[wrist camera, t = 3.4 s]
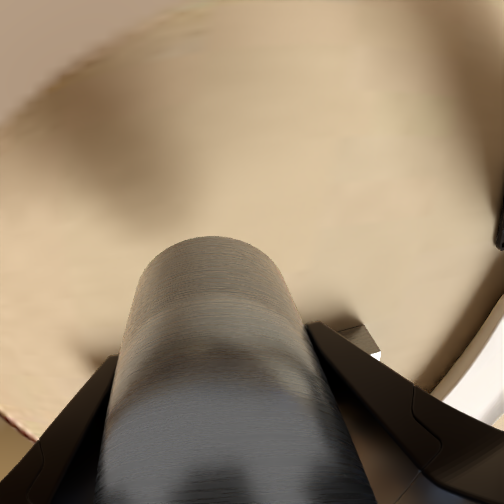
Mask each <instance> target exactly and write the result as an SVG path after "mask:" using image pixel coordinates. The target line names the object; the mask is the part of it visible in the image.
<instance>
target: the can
mask: <svg viewBox="0 0 504 504" xmlns="http://www.w3.org/2000/svg"><path fill="white" fill-rule="evenodd" d="M93 504H378V503H377V500H376V498H375V495H374V493H373V490H372V488H371V485H370V483H369V480H368V478H367V475H366V473H365V470H364V468H363V465H362V463H361V460H360V458H359V455H358V453H357V450H356V448H355V446H354V443H353V441H352V438H351V436H350V433H349V431H348V428H347V426H346V424H345V421H344V419H343V416H342V414H341V412H340V409H339V407H338V404H337V402H336V400H335V397H334V395H333V392H332V390H331V388H330V385H329V383H328V381H327V378H326V376H325V373H324V371H323V369H322V366H321V364H320V362H319V359H318V357H317V355H316V352H315V350H314V348H313V345H312V343H311V341H310V338H309V336H308V334H307V331H306V329H305V327H304V324H303V322H302V320H301V317H300V315H299V313H298V310H297V308H296V306H295V304H294V301H293V299H292V297H291V294H290V292H289V290H288V287H287V285H286V283H285V281H284V278H283V276H282V274H281V272H280V270H279V269H278V267H277V266H276V265H275V263H274V262H273V261H272V260H271V259H270V258H269V257H268V256H267V255H266V254H264V253H263V252H262V251H260V250H259V249H257V248H255V247H254V246H252V245H250V244H248V243H245V242H242V241H240V240H236V239H232V238H227V237H219V236H206V237H198V238H193V239H188V240H185V241H182V242H179V243H177V244H174V245H173V246H171V247H169V248H167V249H165V250H164V251H163V252H161V253H160V254H158V255H157V256H156V257H155V258H154V259H153V260H152V261H151V262H150V263H149V265H148V266H147V267H146V269H145V270H144V272H143V274H142V275H141V277H140V280H139V283H138V286H137V289H136V292H135V296H134V299H133V303H132V307H131V310H130V314H129V318H128V321H127V325H126V329H125V333H124V337H123V341H122V345H121V349H120V353H119V357H118V361H117V366H116V370H115V375H114V379H113V384H112V389H111V393H110V398H109V403H108V408H107V414H106V419H105V425H104V430H103V436H102V442H101V449H100V455H99V462H98V469H97V477H96V485H95V494H94V503H93Z"/></svg>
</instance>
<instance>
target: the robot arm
mask: <svg viewBox="0 0 504 504" xmlns="http://www.w3.org/2000/svg"><path fill="white" fill-rule="evenodd" d="M496 247H497V248H498V249H499V250H500V251H503V250H504V200H503V207H502V213H501V220H500V226H499V231H498V236H497V241H496ZM304 327H305V329H306V331H307V334H308V336H309V338H310V341H311V343H312V345H313V348H314V350H315V352H316V355H317V357H318V359H319V362H320V364H321V366H322V369H323V371H324V373H325V376H326V378H327V381H328V383H329V385H330V388H331V390H332V392H333V395H334V397H335V400H336V402H337V404H338V407H339V409H340V412H341V414H342V416H343V419H344V421H345V424H346V426H347V428H348V431H349V433H350V436H351V438H352V441H353V443H354V446H355V448H356V450H357V453H358V455H359V458H360V460H361V463H362V465H363V468H364V470H365V473H366V475H367V478H368V480H369V483H370V485H371V488H372V490H373V493H374V495H375V498H376V500H377V503H378V504H504V431H502V430H499V429H497V428H494V427H492V426H490V425H488V424H486V423H484V422H482V421H480V420H477V419H475V418H473V417H471V416H469V415H467V414H465V413H463V412H461V411H459V410H457V409H455V408H453V407H451V406H449V405H448V404H446V403H444V402H442V401H440V400H439V399H437V398H435V397H434V396H432V395H431V394H429V393H427V392H426V391H424V390H423V389H421V388H420V387H418V386H417V385H415V386H414V384H413V383H412V382H410V381H409V380H407V379H406V378H404V377H403V376H401V375H400V374H398V373H397V372H395V371H394V370H392V369H391V368H389V367H388V366H386V365H385V364H383V363H382V362H380V361H379V360H377V359H376V358H374V357H373V356H371V355H370V354H368V353H367V352H365V351H364V350H362V349H361V348H359V347H358V346H356V345H355V344H353V343H352V342H351V341H349V340H348V339H346V338H345V337H343V336H342V335H340V334H339V333H337V332H336V331H334V330H333V329H331V328H330V327H328V326H327V325H325V324H324V323H323V322H321V321H315V322H310V323H306V324H305V326H304ZM118 357H119V354H118V355H111V356H109V357H108V358H107V359H106V360H105V362H104V363H103V364H102V365H101V366H100V367H99V368H98V370H97V371H96V372H95V373H94V374H93V375H92V377H91V378H90V379H89V380H88V381H87V382H86V383H85V385H84V386H83V387H82V388H81V389H80V390H79V392H78V393H77V394H76V395H75V396H74V397H73V399H72V400H71V401H70V402H69V403H68V404H67V406H66V407H65V408H64V409H63V410H62V412H61V413H60V414H59V415H58V416H57V418H56V419H55V420H54V421H53V422H52V424H51V425H50V426H49V427H48V428H47V430H46V431H45V432H44V433H43V434H42V436H41V437H40V438H39V440H37V442H36V443H35V444H34V445H33V446H32V448H31V449H30V450H29V451H28V453H27V454H26V455H25V456H24V457H23V458H22V460H21V461H20V462H19V463H18V464H17V465H16V466H15V467H14V468H13V469H12V470H11V471H10V472H9V473H8V475H7V476H6V477H5V478H4V479H3V480H2V481H1V482H0V504H93V503H94V494H95V485H96V477H97V469H98V462H99V455H100V449H101V442H102V436H103V430H104V425H105V419H106V414H107V408H108V403H109V398H110V393H111V389H112V384H113V379H114V375H115V370H116V366H117V361H118Z"/></svg>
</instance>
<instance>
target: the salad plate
mask: <svg viewBox="0 0 504 504" xmlns="http://www.w3.org/2000/svg"><path fill="white" fill-rule="evenodd" d="M430 394H431V395H432V396H434V397H435V398H437V399H439V400H440V401H442V402H444V403H446V404H448V405H449V406H451V407H453V408H455V409H457V410H459V411H461V412H463V413H465V414H467V415H469V416H471V417H473V418H475V419H477V420H480V421H482V422H484V423H486V424H488V425H490V426H492V425H493V424H494V423H495V422H496V421H497V420H498V419H499V418H500V417H501V416H502V415H503V414H504V294H503V295H502V296H501V298H500V299H499V300H498V302H497V303H496V305H495V306H494V308H493V310H492V311H491V313H490V315H489V316H488V318H487V319H486V321H485V322H484V324H483V325H482V327H481V328H480V330H479V331H478V332H477V334H476V335H475V337H474V338H473V340H472V341H471V342H470V344H469V345H468V346H467V348H466V349H465V351H464V352H463V353H462V355H461V356H460V357H459V358H458V360H457V361H456V362H455V364H454V365H453V366H452V368H451V369H450V370H449V371H448V373H447V374H446V375H445V376H444V378H443V379H442V380H441V381H440V383H439V384H438V385H437V386H436V387H435V389H434V390H433V391H432V392H431V393H430Z"/></svg>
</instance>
